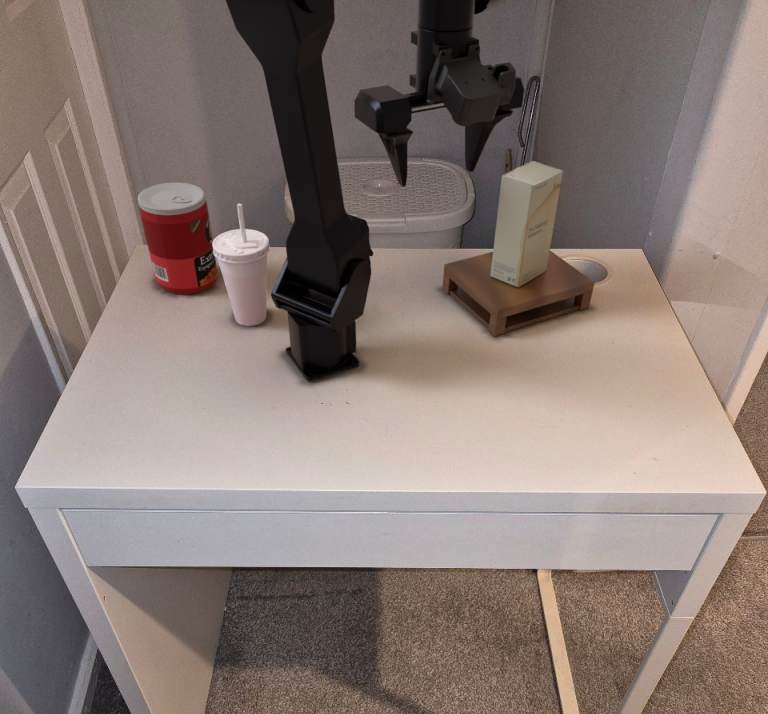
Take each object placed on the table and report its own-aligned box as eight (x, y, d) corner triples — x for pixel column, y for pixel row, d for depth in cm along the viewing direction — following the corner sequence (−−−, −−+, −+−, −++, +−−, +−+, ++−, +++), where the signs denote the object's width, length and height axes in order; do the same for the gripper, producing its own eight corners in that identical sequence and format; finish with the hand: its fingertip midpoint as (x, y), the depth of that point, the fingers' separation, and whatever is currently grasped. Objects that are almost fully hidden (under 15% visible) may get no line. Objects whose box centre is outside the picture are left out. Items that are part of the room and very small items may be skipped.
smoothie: (254, 338, 89) (239, 222, 79) (212, 321, 91) (192, 207, 81) (287, 313, 93) (277, 199, 82) (246, 298, 95) (231, 185, 85)
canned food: (213, 296, 95) (198, 210, 87) (149, 295, 95) (129, 208, 87) (223, 265, 100) (210, 182, 93) (163, 264, 101) (145, 181, 93)
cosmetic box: (517, 289, 90) (533, 187, 81) (488, 276, 92) (499, 175, 84) (547, 270, 93) (565, 169, 85) (518, 258, 95) (532, 158, 87)
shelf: (494, 336, 89) (498, 310, 87) (442, 289, 97) (444, 264, 94) (589, 307, 94) (594, 282, 92) (532, 265, 101) (536, 240, 99)
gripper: (404, 58, 70) (400, 222, 81) (566, 33, 76) (542, 188, 87) (350, 28, 77) (353, 183, 88) (503, 7, 83) (488, 154, 94)
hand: (436, 178), depth 89 cm, fingers open, 9 cm apart
